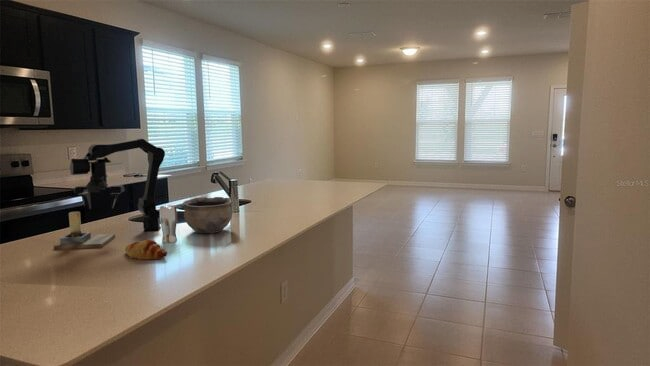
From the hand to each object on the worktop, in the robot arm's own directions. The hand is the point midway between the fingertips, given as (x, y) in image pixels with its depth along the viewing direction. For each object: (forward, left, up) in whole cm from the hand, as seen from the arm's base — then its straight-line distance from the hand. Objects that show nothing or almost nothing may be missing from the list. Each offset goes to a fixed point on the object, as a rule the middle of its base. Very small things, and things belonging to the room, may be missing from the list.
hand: (101, 208), depth 182 cm
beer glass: (-30, +10, -13) cm, 34 cm away
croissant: (-25, +30, -14) cm, 42 cm away
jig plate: (+4, +8, -13) cm, 16 cm away
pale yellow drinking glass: (+7, +10, -12) cm, 17 cm away
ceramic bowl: (-45, -4, -13) cm, 47 cm away
